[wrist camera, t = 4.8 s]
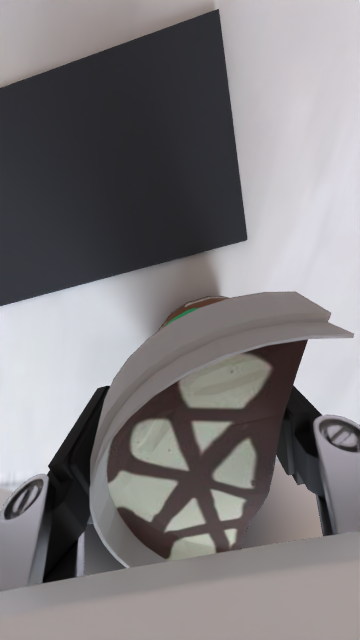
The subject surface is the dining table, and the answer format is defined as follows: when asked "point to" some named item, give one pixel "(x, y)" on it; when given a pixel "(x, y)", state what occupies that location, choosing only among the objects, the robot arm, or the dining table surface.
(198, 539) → the food container
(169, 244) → the mat
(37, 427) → the dining table surface
